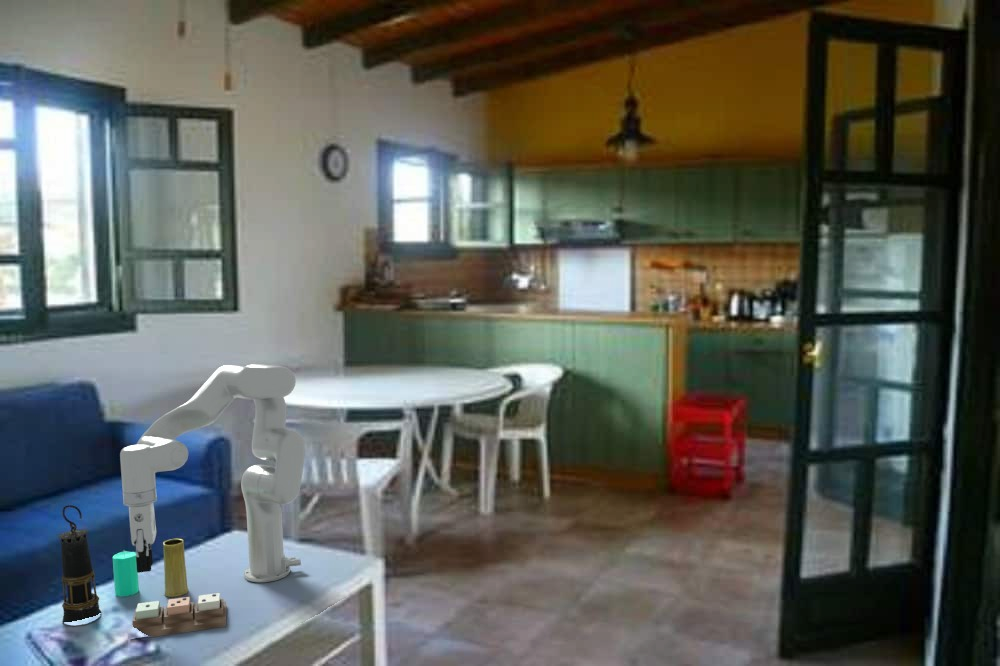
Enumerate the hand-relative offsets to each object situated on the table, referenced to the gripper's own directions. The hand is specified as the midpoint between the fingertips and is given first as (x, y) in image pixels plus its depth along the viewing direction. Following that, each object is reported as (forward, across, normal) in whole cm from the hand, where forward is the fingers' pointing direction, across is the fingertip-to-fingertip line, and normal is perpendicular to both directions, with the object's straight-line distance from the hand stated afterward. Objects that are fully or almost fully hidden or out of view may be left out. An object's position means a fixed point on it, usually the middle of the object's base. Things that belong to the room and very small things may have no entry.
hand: (144, 567), depth 217 cm
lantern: (+15, +11, +17) cm, 25 cm away
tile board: (+15, 0, -7) cm, 17 cm away
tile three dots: (+12, 0, -7) cm, 14 cm away
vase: (+15, +20, -5) cm, 26 cm away
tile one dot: (+12, 0, 0) cm, 12 cm away
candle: (+15, +25, +8) cm, 30 cm away
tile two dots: (+12, 0, -14) cm, 19 cm away
